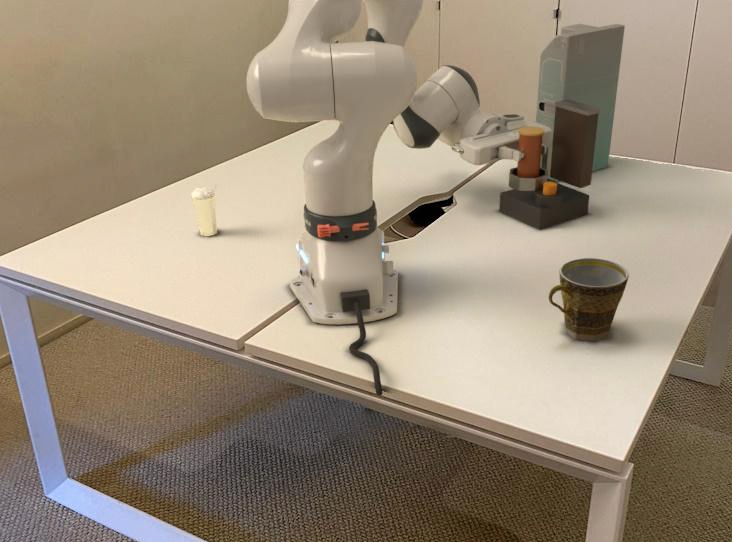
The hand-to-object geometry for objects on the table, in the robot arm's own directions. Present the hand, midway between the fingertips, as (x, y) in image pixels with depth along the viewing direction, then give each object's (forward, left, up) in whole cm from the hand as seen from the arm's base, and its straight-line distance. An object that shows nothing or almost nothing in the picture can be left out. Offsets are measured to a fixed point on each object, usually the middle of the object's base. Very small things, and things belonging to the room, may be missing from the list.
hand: (533, 153), depth 163 cm
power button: (-5, -2, -7) cm, 8 cm away
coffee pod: (+1, 0, -5) cm, 5 cm away
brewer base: (0, -3, -12) cm, 13 cm away
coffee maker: (0, -3, -6) cm, 7 cm away
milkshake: (+6, +64, -13) cm, 65 cm away
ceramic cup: (-48, +8, -13) cm, 51 cm away
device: (+24, -17, -13) cm, 32 cm away
